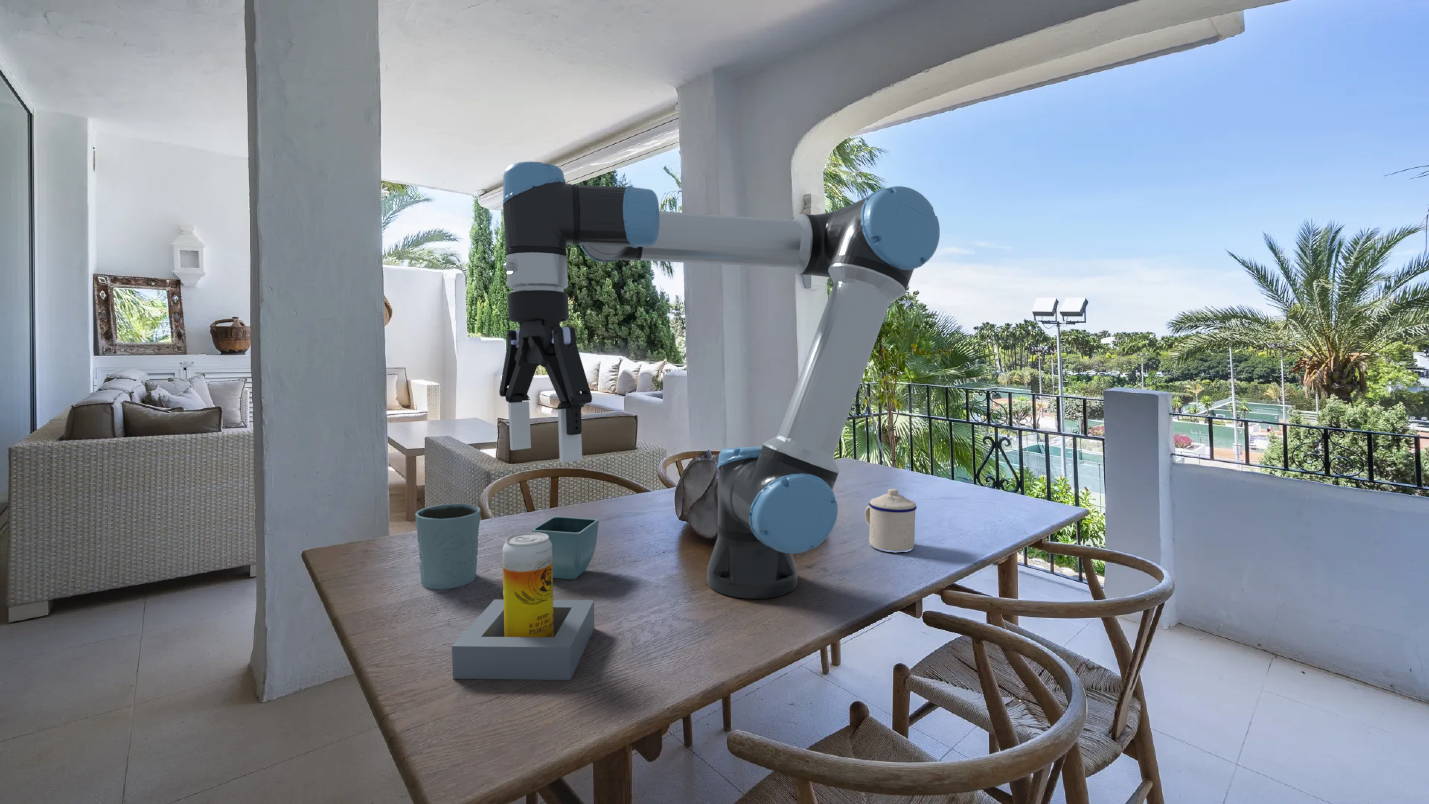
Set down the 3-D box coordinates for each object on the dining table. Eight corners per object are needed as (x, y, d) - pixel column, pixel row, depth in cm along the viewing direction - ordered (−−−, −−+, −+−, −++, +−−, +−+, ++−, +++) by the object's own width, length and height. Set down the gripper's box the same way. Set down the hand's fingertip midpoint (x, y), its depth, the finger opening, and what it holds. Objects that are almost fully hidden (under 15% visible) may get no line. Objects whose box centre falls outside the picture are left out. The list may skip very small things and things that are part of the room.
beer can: (537, 665, 78) (535, 547, 77) (495, 659, 80) (492, 542, 78) (562, 643, 84) (560, 533, 83) (522, 638, 86) (519, 529, 84)
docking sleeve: (594, 627, 89) (594, 600, 88) (570, 679, 75) (570, 647, 74) (495, 627, 89) (494, 599, 89) (452, 678, 75) (451, 646, 75)
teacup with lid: (925, 550, 124) (927, 491, 123) (890, 557, 120) (892, 496, 119) (882, 534, 134) (883, 480, 133) (848, 540, 130) (850, 484, 129)
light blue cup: (425, 571, 111) (423, 504, 110) (486, 567, 113) (484, 501, 112) (410, 593, 101) (408, 519, 100) (477, 588, 103) (475, 516, 102)
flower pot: (580, 585, 105) (579, 532, 104) (531, 581, 106) (530, 529, 106) (600, 568, 113) (599, 518, 112) (554, 564, 115) (553, 516, 114)
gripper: (470, 296, 88) (477, 447, 89) (560, 280, 69) (567, 471, 71) (521, 298, 93) (527, 441, 94) (617, 284, 74) (622, 462, 76)
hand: (544, 454), depth 83 cm, fingers open, 13 cm apart
